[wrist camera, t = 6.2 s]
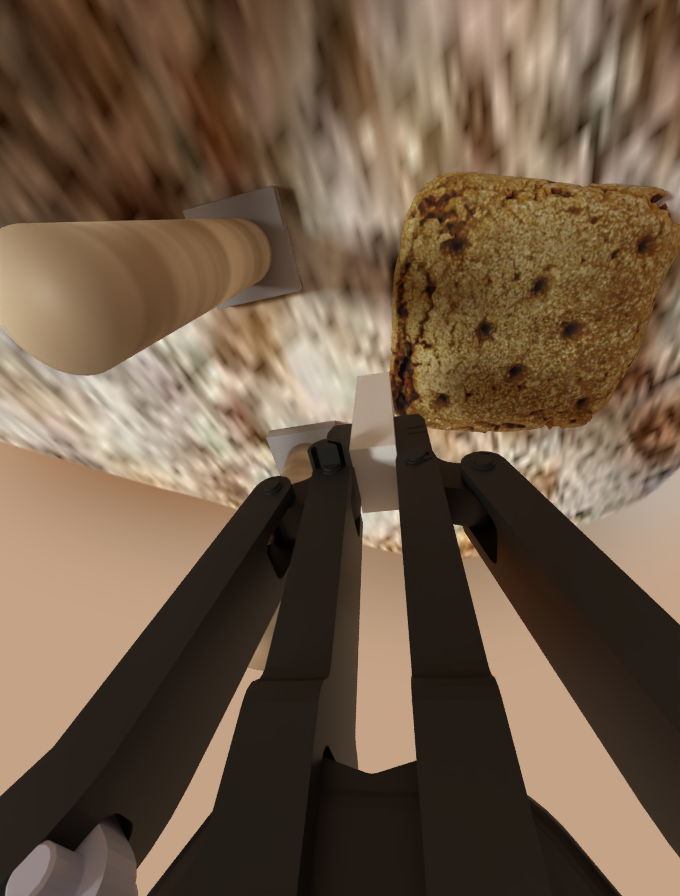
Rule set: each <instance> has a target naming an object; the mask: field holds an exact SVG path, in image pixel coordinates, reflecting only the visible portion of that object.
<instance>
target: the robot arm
mask: <svg viewBox="0 0 680 896" xmlns="http://www.w3.org/2000/svg"><path fill="white" fill-rule="evenodd" d="M307 453H308V456H309V459H310V463H311V466H312V470H313V472H312V476H311V477H310V478H308V479H306V480H303V481H300V482H297V483H294V484H291V481H290V479H288V478H287V477H284V476H274V477H271V478H268V479H266V480H264V481H262V482H260V483H259V484H258V485H257V486H256V487H255V488H254V490H253V491H252V492H251V494H250V495H249V496H248V497H247V499H246V500H245V501H244V503H243V504H242V505H241V506H240V508H239V509H238V510H237V512H236V513H235V514H234V516H233V517H232V518H231V520H230V521H229V522H228V523H227V524H226V526H225V527H224V528H223V530H222V531H221V532H220V533H219V535H218V536H217V538H216V539H215V540H214V541H213V542H212V544H211V545H210V546H209V548H208V549H207V550H206V551H205V553H204V554H203V555H202V557H201V558H200V559H199V560H198V562H197V563H196V564H195V566H194V567H193V568H192V569H191V571H190V572H189V573H188V575H187V576H186V577H185V578H184V580H183V581H182V582H181V584H180V585H179V586H178V587H177V589H176V590H175V591H174V593H173V594H172V595H171V596H170V598H169V599H168V600H167V602H166V603H165V604H164V605H163V607H162V608H161V609H160V611H159V612H158V613H157V615H156V616H155V617H154V618H153V620H152V621H151V622H150V623H149V625H148V626H147V627H146V629H145V630H144V631H143V632H142V634H141V635H140V636H139V638H138V639H137V640H136V641H135V643H134V644H133V645H132V647H131V648H130V649H129V650H128V652H127V653H126V654H125V656H124V657H123V658H122V659H121V661H120V662H119V663H118V665H117V666H116V667H115V669H114V670H113V671H112V672H111V674H110V675H109V676H108V677H107V679H106V680H105V681H104V683H103V684H102V685H101V686H100V688H99V689H98V690H97V692H96V693H95V694H94V695H93V697H92V698H91V699H90V701H89V702H88V703H87V705H86V706H85V707H84V708H83V710H82V711H81V712H80V713H79V715H78V716H77V717H76V719H75V720H74V721H73V722H72V724H71V725H70V726H69V728H68V729H67V730H66V732H65V733H64V734H63V735H62V737H61V738H60V739H59V740H58V742H57V743H56V744H55V746H54V747H53V748H52V749H51V750H50V751H49V752H47V753H46V754H45V755H44V756H43V757H42V758H41V759H40V760H39V761H38V762H37V763H36V764H35V765H33V767H31V768H30V769H29V770H28V771H27V772H26V773H25V774H24V775H23V776H22V777H21V778H19V779H18V780H17V781H16V782H15V783H14V784H13V785H12V786H11V787H10V788H9V789H8V790H7V791H5V792H4V793H3V794H2V795H1V796H0V896H138V890H137V885H136V884H135V882H136V870H137V868H138V867H139V865H140V864H141V863H142V861H143V860H144V858H145V857H146V856H147V854H148V853H149V852H150V850H151V849H152V847H153V846H154V844H155V842H156V841H157V839H158V838H159V836H160V834H161V833H162V831H163V830H164V828H165V827H166V825H167V824H168V822H169V820H170V819H171V817H172V815H173V813H174V811H175V809H176V808H177V806H178V804H179V802H180V800H181V799H182V797H183V795H184V793H185V791H186V789H187V788H188V785H189V784H190V782H191V780H192V778H193V776H194V774H195V772H196V769H197V768H198V766H199V763H200V762H201V760H202V758H203V755H204V754H205V752H206V750H207V748H208V746H209V744H210V742H211V739H212V738H213V736H214V734H215V732H216V729H217V727H218V726H219V723H220V722H221V719H222V718H223V715H224V714H225V712H226V710H227V708H228V705H229V703H230V701H231V699H232V698H233V695H234V694H235V692H236V690H237V688H238V685H239V684H240V682H241V680H242V677H243V675H244V673H245V672H246V669H247V668H248V666H249V664H250V662H251V660H252V657H253V655H254V653H255V651H256V649H257V647H258V645H259V643H260V641H261V639H262V637H263V635H264V633H265V631H266V629H267V627H268V625H269V623H270V621H271V619H272V617H273V615H274V613H275V611H276V609H277V607H278V605H279V603H280V601H281V603H280V607H279V612H278V616H277V620H276V624H275V628H274V632H273V636H272V640H271V644H270V649H269V653H268V657H267V661H266V665H265V669H264V672H263V674H262V676H261V678H260V679H258V680H255V681H253V682H252V683H251V684H250V686H249V687H248V689H247V691H246V694H245V696H244V699H243V702H242V706H241V709H240V713H239V717H238V720H237V724H236V727H235V732H234V735H233V739H232V742H231V746H230V750H229V753H228V757H227V761H226V765H225V768H224V772H223V775H222V779H221V783H220V786H219V790H218V794H217V798H216V801H215V805H214V808H213V811H212V813H211V814H210V816H208V818H207V819H206V820H205V822H204V823H203V824H202V825H201V827H200V828H199V829H198V831H197V832H196V833H195V834H194V836H193V837H192V838H191V839H190V841H189V842H188V843H187V845H186V846H185V847H184V849H183V850H182V851H181V852H180V854H179V855H178V856H177V857H176V859H175V860H174V861H173V863H172V864H171V865H170V866H169V868H168V869H167V870H166V872H165V873H164V875H162V877H161V878H160V879H159V881H158V882H157V883H156V884H155V886H154V887H153V888H152V890H151V891H150V892H149V893H148V895H147V896H622V895H621V894H620V893H619V892H618V891H617V889H616V888H615V887H614V886H613V885H612V884H611V882H610V881H609V880H608V879H607V878H606V876H605V875H604V874H603V873H602V872H601V870H600V869H599V868H598V867H597V866H596V865H595V863H594V862H593V861H592V860H591V859H590V857H589V856H588V855H587V854H586V853H585V852H584V850H583V849H582V848H581V847H580V846H579V844H578V843H577V842H576V841H575V840H574V838H573V837H572V836H571V835H570V834H569V833H568V832H567V830H566V829H565V828H564V827H563V826H562V825H561V824H560V823H559V822H558V821H557V820H556V819H555V818H554V817H553V816H552V815H551V814H550V813H549V812H548V811H547V810H546V809H544V808H543V807H542V806H541V805H540V804H538V803H537V802H536V801H535V800H533V799H532V798H531V797H530V796H528V795H527V793H526V789H525V785H524V781H523V777H522V774H521V770H520V766H519V762H518V758H517V755H516V751H515V747H514V743H513V740H512V735H511V731H510V728H509V724H508V720H507V716H506V712H505V708H504V705H503V701H502V697H501V694H500V690H499V687H498V685H497V682H496V679H495V678H494V676H492V674H491V672H490V669H489V666H488V662H487V658H486V654H485V650H484V647H483V643H482V639H481V634H480V630H479V626H478V622H477V618H476V614H475V610H474V606H473V602H472V598H471V594H470V590H469V586H468V582H467V578H466V574H465V570H464V566H463V562H462V558H461V554H460V550H459V546H458V542H457V538H456V534H455V530H454V526H453V524H455V525H462V526H463V529H464V532H465V533H466V535H467V536H468V538H469V539H470V541H471V542H472V544H473V545H474V547H475V549H476V550H477V552H478V553H479V555H480V556H481V558H482V559H483V561H484V562H485V564H486V565H487V567H488V568H489V570H490V572H491V573H492V575H493V576H494V578H495V579H496V581H497V582H498V584H499V586H500V587H501V589H502V590H503V592H504V593H505V595H506V596H507V598H508V599H509V601H510V602H511V604H512V605H513V607H514V609H515V610H516V612H517V613H518V615H519V616H520V618H521V619H522V621H523V622H524V624H525V625H526V627H527V629H528V630H529V632H530V633H531V635H532V636H533V638H534V639H535V641H536V642H537V644H538V646H539V647H540V649H541V650H542V652H543V653H544V655H545V656H546V658H547V660H548V661H549V663H550V664H551V666H552V667H553V669H554V670H555V672H556V673H557V675H558V676H559V678H560V680H561V681H562V682H563V684H564V686H565V687H566V689H567V690H568V692H569V693H570V695H571V696H572V698H573V700H574V701H575V703H576V704H577V706H578V707H579V709H580V710H581V712H582V713H583V715H584V716H585V718H586V720H587V721H588V723H589V724H590V726H591V727H592V729H593V730H594V732H595V733H596V735H597V737H598V738H599V739H600V741H601V743H602V744H603V746H604V747H605V749H606V750H607V752H608V754H609V755H610V757H611V758H612V760H613V761H614V763H615V764H616V766H617V767H618V769H619V770H620V772H621V774H622V775H623V776H624V778H625V780H626V781H627V783H628V784H629V786H630V787H631V789H632V791H633V792H634V794H635V795H636V797H637V798H638V800H639V801H640V803H641V804H642V806H643V807H644V809H645V810H646V812H647V813H648V814H649V816H650V817H651V819H652V820H653V821H654V823H655V824H656V826H657V827H658V829H659V830H660V831H661V833H662V834H663V836H664V837H665V839H666V840H667V842H668V843H669V844H670V845H671V847H672V848H673V850H674V851H675V852H676V853H677V855H678V856H679V857H680V625H679V624H678V623H677V622H676V621H675V620H674V619H673V618H672V617H671V616H670V615H669V614H668V613H667V612H666V611H665V610H664V609H663V608H661V607H660V606H659V605H658V604H657V603H656V602H655V601H654V600H653V599H652V598H651V597H650V596H649V595H648V594H647V593H646V592H645V591H644V590H642V589H641V588H640V587H639V586H638V585H637V584H636V583H635V582H634V581H633V580H632V579H631V578H630V577H629V576H628V575H627V574H626V573H625V572H624V571H623V570H621V569H620V568H619V567H618V566H617V565H616V564H615V563H614V562H613V561H612V560H611V559H610V558H609V557H608V556H607V555H606V554H605V553H604V552H603V551H601V550H600V549H599V548H598V547H597V546H596V545H595V544H594V543H593V542H592V541H591V540H590V539H589V538H588V537H587V536H586V535H585V534H583V532H581V531H580V530H579V529H578V528H577V527H576V526H575V525H574V524H573V523H572V522H571V521H570V520H569V519H568V518H567V517H566V516H565V515H564V514H563V513H562V512H560V511H559V510H558V509H557V508H556V507H555V506H554V505H553V504H552V503H551V502H550V501H549V500H548V499H547V498H546V497H545V496H544V495H543V494H542V493H540V492H539V491H538V490H537V489H536V488H535V487H534V486H533V485H532V484H531V483H530V482H529V481H528V480H527V479H526V478H525V477H524V476H523V475H522V474H520V473H519V472H518V471H517V470H516V469H515V468H514V467H513V466H512V465H511V464H510V463H509V462H508V461H507V460H506V459H505V458H503V457H502V456H500V455H499V454H496V453H493V452H487V451H479V452H473V453H470V454H468V455H466V456H465V457H464V458H462V460H461V463H452V462H446V461H443V460H441V459H439V458H437V457H436V455H435V454H434V452H433V451H432V447H431V443H430V439H429V435H428V431H427V427H426V423H425V419H424V418H423V417H422V416H420V415H419V414H411V415H404V416H396V417H395V414H394V407H393V399H392V392H391V384H390V377H389V372H384V373H378V374H371V375H365V376H359V377H357V385H356V394H355V403H354V412H353V421H352V424H345V425H337V426H333V427H332V429H331V430H330V431H329V432H328V434H327V438H326V439H322V440H320V441H317V442H315V443H314V444H312V445H311V446H310V447H309V448H308V450H307ZM361 507H362V511H363V513H368V512H379V511H389V510H399V513H400V526H401V539H402V552H403V565H404V577H405V590H406V602H407V616H408V629H409V641H410V654H411V668H412V677H411V689H412V705H413V718H414V732H415V745H416V758H417V760H416V761H413V762H410V763H407V764H404V765H401V766H398V767H394V768H391V769H388V770H385V771H382V772H379V773H375V774H369V773H365V772H363V771H360V770H358V760H357V752H356V741H355V722H356V696H357V668H358V641H359V614H360V587H361V560H362V533H363V521H362V517H361Z"/></svg>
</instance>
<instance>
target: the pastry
mask: <svg viewBox="0 0 680 896" xmlns="http://www.w3.org/2000/svg"><path fill="white" fill-rule="evenodd" d="M667 193H668V192H666V191H665V190H663V189H660V188H656V187H641V186H633V185H622V184H602V185H597V184H591V185H589V186H587V187H580V185H574V184H567V183H561V182H559V183H557V182H553V181H549V180H543V179H532V178H522V177H513V176H501V175H494V174H485V173H475V172H468V173H463V172H454V173H449V174H444V175H441V176H438V177H437V178H435V179H434V180H433V181H431V182H429V183H426V186H425V187H424V188H423V189H422V190H421V191H420V192H419V193H418V194H417V195H416V197H415V198H414V200H413V202H412V205H411V207H410V209H409V211H408V214H407V216H406V219H405V224H404V228H403V231H402V236H401V245H400V252H399V256H398V258H397V261H396V267H395V271H394V283H393V293H392V303H391V304H392V329H393V333H392V346H391V350H392V356H391V365H390V372H389V377H390V384H391V392H392V399H393V407H394V413H395V414H396V415H397V416H404V415H411V414H419V415H420V416H422V417H423V418H424V419H425V423H426V427H431V428H433V429H442V430H464V431H472V432H482V433H486V432H487V431H494V432H509V431H519V430H532V429H536V428H541V427H543V426H544V425H546V426H547V427H548V428H549V429H551V428H552V427H553V426H560V427H561V428H563V429H564V428H569V427H578V426H582V425H585V424H586V423H587V422H589V421H590V420H591V418H592V415H593V414H595V413H597V412H598V411H600V410H601V409H602V408H603V407H604V406H605V405H606V404H607V402H608V401H609V400H610V398H611V397H612V395H613V392H614V391H615V389H616V387H617V385H618V383H619V381H620V380H621V379H622V378H623V377H624V375H625V374H626V372H627V371H628V370H629V369H630V367H631V366H632V365H633V364H634V362H635V359H636V357H637V355H638V352H639V349H640V346H641V344H642V341H643V337H644V334H645V331H646V328H647V325H648V323H649V320H650V317H651V315H652V311H653V305H654V303H655V301H656V299H657V296H658V291H659V289H660V288H661V286H662V284H663V282H664V279H665V277H666V274H667V272H668V270H669V268H670V267H671V265H672V263H673V262H674V260H675V258H676V256H677V254H678V253H679V251H680V225H678V224H676V223H673V221H672V220H671V218H670V217H671V216H670V213H669V210H667V206H666V204H664V205H663V206H661V207H658V206H657V204H656V203H655V202H657V201H658V200H660V199H661V198H662V197H664V196H665V195H667Z"/></svg>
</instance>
